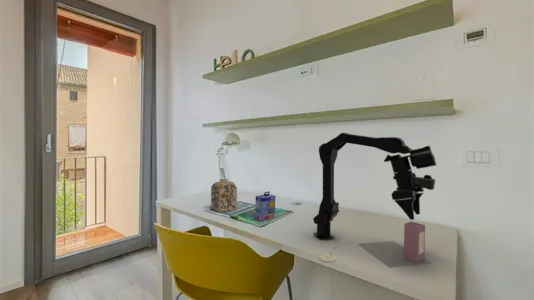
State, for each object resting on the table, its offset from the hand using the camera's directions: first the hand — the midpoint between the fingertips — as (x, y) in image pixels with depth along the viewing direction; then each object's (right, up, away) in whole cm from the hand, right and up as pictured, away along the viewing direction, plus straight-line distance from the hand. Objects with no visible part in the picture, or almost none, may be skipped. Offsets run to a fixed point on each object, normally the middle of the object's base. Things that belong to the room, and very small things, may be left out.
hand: (415, 216), depth 85 cm
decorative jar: (-76, -13, +65) cm, 101 cm away
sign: (-27, -15, +5) cm, 32 cm away
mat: (-5, -15, +5) cm, 17 cm away
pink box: (0, -15, 0) cm, 14 cm away
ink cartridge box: (-51, -14, +46) cm, 71 cm away
